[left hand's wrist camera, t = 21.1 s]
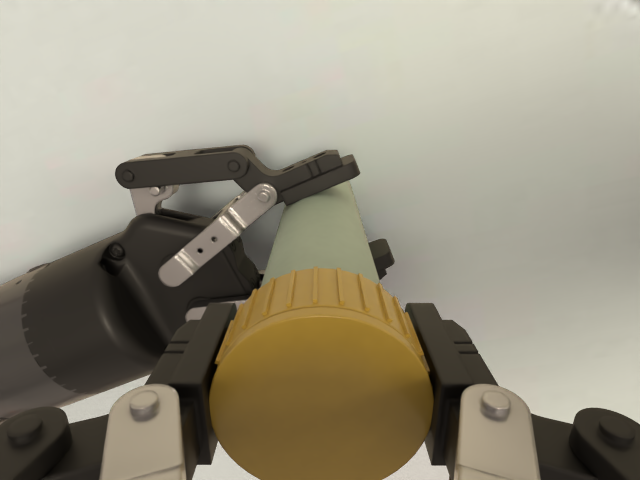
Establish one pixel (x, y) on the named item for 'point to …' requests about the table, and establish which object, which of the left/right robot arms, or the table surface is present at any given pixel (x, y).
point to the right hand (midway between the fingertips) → (371, 208)
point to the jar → (322, 236)
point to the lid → (321, 380)
